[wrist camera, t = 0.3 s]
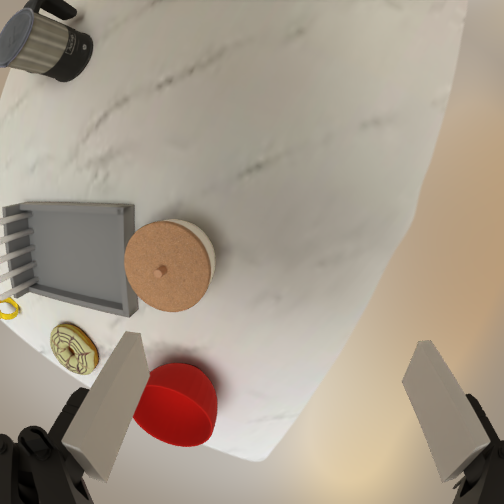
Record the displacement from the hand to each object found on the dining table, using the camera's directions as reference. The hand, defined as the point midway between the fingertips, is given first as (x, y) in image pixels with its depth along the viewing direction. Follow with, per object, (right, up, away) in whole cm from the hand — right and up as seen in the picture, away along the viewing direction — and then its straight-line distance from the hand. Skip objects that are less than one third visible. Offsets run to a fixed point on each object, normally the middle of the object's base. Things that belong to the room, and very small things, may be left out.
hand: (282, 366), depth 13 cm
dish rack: (-30, +5, +30) cm, 43 cm away
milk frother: (-35, +39, +22) cm, 57 cm away
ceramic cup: (-14, -16, +34) cm, 40 cm away
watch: (-53, -6, +37) cm, 64 cm away
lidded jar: (-10, +5, +28) cm, 30 cm away
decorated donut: (-34, -13, +36) cm, 51 cm away
